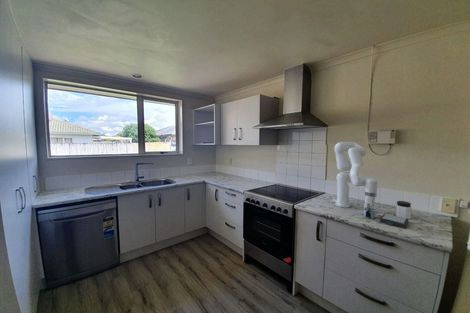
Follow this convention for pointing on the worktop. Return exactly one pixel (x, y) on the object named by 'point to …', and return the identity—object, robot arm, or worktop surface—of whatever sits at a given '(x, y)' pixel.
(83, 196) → the worktop surface
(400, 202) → the jar
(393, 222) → the scale
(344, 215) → the worktop surface
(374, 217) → the bowl
